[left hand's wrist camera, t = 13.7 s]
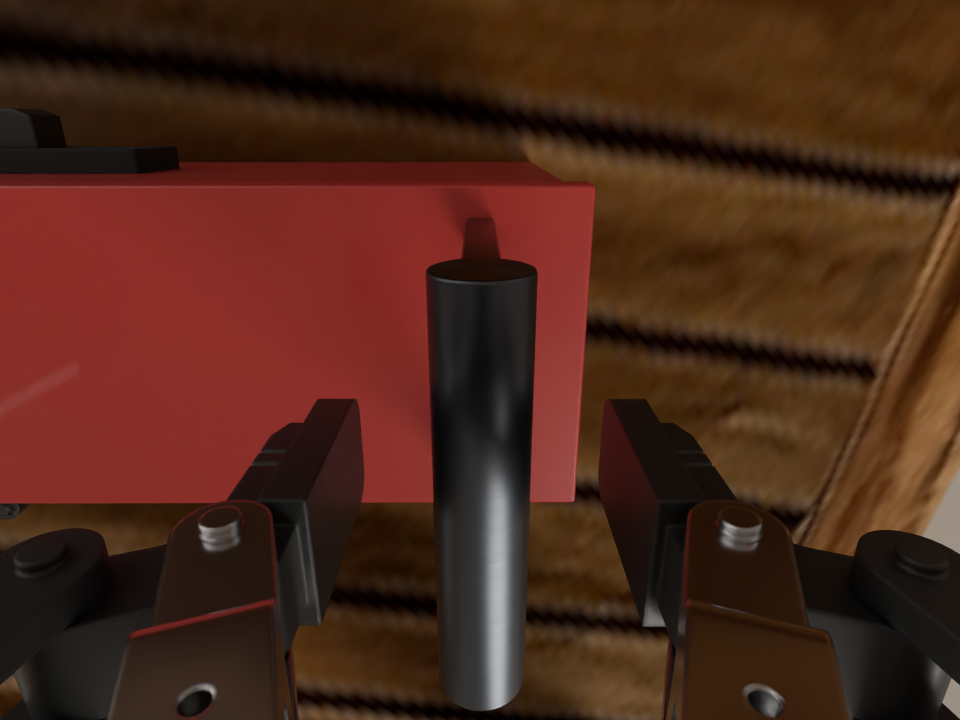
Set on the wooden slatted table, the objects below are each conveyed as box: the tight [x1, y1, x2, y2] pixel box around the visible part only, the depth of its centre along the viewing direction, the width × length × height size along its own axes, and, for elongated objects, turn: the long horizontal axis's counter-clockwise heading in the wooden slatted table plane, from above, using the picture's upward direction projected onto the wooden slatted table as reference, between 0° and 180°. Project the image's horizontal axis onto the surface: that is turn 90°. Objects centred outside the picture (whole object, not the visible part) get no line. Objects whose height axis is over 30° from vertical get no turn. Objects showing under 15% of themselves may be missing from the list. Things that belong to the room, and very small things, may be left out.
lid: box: [0, 182, 596, 711], centre depth 13 cm, size 18×9×8 cm, turn 90°
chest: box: [0, 162, 563, 182], centre depth 22 cm, size 17×9×11 cm, turn 90°
